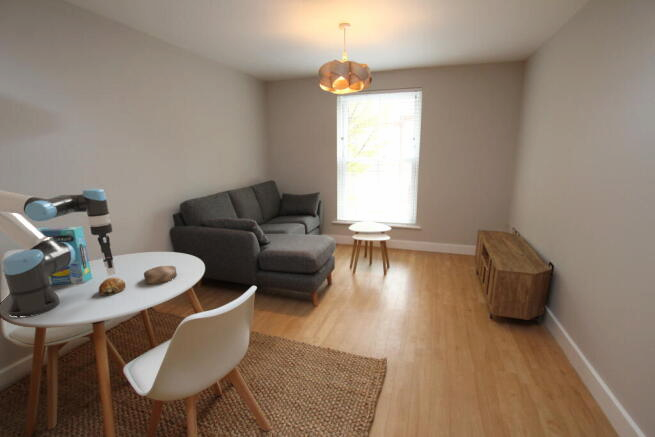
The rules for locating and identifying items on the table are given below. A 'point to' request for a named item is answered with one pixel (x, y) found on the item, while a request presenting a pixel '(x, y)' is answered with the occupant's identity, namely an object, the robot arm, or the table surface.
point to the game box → (80, 266)
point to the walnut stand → (160, 274)
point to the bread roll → (111, 286)
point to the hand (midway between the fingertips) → (110, 270)
